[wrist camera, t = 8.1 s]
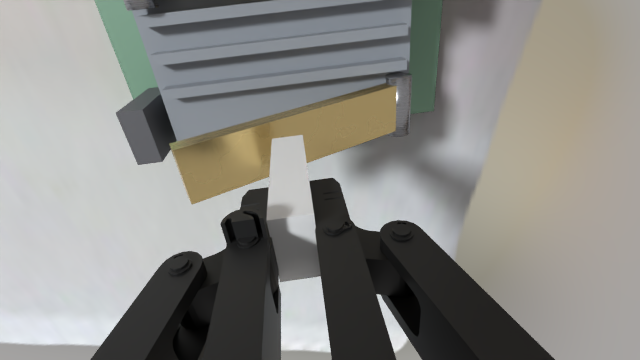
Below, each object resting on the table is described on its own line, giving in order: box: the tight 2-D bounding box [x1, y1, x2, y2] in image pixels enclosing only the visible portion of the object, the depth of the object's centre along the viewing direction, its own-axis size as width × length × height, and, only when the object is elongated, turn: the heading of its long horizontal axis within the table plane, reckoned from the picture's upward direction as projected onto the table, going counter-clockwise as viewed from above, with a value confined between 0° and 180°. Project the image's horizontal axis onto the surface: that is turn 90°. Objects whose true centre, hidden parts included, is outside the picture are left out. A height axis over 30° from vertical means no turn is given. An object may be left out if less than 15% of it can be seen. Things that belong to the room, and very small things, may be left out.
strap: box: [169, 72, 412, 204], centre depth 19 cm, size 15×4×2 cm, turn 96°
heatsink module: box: [95, 0, 443, 165], centre depth 22 cm, size 24×15×7 cm, turn 96°
